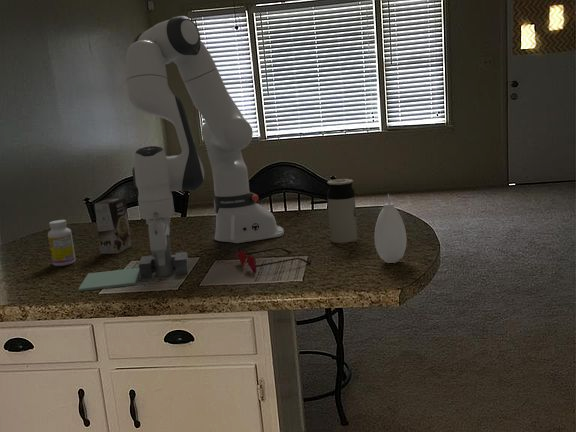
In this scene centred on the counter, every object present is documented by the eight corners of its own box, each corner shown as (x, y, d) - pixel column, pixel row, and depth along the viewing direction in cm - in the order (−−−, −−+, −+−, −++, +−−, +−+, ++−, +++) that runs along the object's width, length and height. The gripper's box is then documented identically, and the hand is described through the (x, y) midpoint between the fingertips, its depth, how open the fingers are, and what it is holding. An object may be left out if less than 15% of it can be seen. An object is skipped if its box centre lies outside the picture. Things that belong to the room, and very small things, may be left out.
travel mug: (326, 243, 181) (322, 183, 177) (335, 237, 188) (331, 179, 185) (353, 244, 178) (349, 182, 174) (360, 237, 185) (357, 178, 182)
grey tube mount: (188, 263, 171) (186, 249, 170) (187, 273, 162) (186, 259, 161) (144, 268, 170) (142, 254, 169) (140, 279, 160) (138, 264, 159)
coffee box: (119, 253, 189) (112, 202, 186) (100, 254, 191) (93, 203, 187) (132, 246, 198) (126, 196, 195) (114, 246, 199) (107, 197, 196)
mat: (140, 269, 169) (140, 267, 169) (135, 284, 156) (135, 282, 156) (88, 275, 168) (88, 273, 167) (78, 291, 154) (78, 289, 154)
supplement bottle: (56, 261, 186) (49, 220, 183) (78, 259, 186) (72, 218, 184) (49, 267, 179) (42, 224, 177) (72, 265, 180) (66, 222, 177)
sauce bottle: (388, 269, 151) (384, 197, 148) (370, 262, 158) (366, 193, 155) (413, 263, 155) (410, 192, 151) (394, 256, 162) (391, 189, 158)
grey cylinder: (176, 271, 165) (172, 234, 163) (167, 276, 160) (163, 238, 158) (161, 271, 166) (157, 234, 164) (152, 276, 162) (148, 238, 160)
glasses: (236, 264, 168) (234, 246, 167) (291, 254, 174) (290, 237, 173) (253, 277, 155) (251, 258, 154) (312, 265, 162) (310, 247, 161)
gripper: (166, 215, 150) (173, 270, 153) (170, 202, 170) (176, 250, 173) (140, 218, 149) (147, 273, 152) (147, 204, 169) (154, 252, 172)
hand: (163, 260), depth 163 cm, fingers open, 6 cm apart
